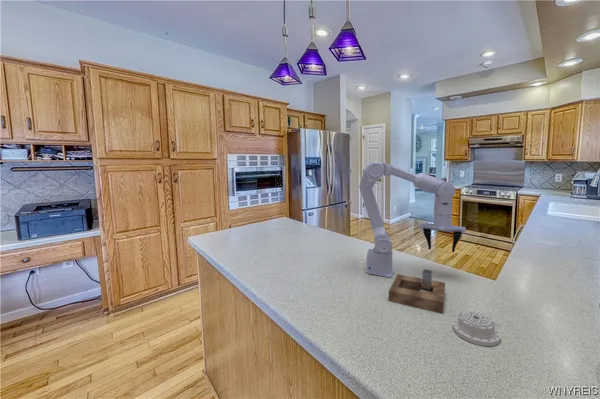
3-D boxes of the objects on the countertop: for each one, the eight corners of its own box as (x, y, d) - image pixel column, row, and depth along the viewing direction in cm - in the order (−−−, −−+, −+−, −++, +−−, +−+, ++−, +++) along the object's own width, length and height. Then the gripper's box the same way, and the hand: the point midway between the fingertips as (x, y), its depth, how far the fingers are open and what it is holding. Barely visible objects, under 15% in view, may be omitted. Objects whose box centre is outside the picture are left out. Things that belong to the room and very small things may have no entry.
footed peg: (417, 299, 82) (417, 272, 81) (419, 293, 86) (419, 267, 85) (434, 303, 79) (435, 275, 78) (435, 296, 83) (436, 270, 82)
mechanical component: (502, 332, 65) (457, 317, 72) (503, 316, 65) (458, 302, 72) (497, 353, 58) (447, 335, 65) (498, 335, 58) (448, 318, 64)
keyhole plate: (388, 300, 82) (388, 290, 81) (397, 283, 93) (397, 274, 93) (442, 313, 74) (443, 302, 73) (444, 292, 86) (445, 282, 85)
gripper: (419, 214, 95) (418, 250, 97) (466, 217, 88) (464, 256, 89) (421, 211, 101) (420, 245, 103) (465, 214, 93) (464, 250, 95)
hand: (441, 249), depth 96 cm, fingers open, 7 cm apart
